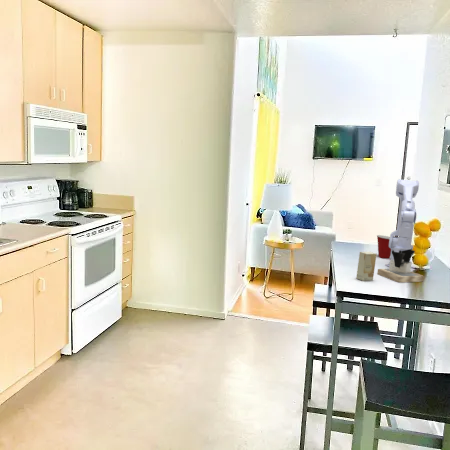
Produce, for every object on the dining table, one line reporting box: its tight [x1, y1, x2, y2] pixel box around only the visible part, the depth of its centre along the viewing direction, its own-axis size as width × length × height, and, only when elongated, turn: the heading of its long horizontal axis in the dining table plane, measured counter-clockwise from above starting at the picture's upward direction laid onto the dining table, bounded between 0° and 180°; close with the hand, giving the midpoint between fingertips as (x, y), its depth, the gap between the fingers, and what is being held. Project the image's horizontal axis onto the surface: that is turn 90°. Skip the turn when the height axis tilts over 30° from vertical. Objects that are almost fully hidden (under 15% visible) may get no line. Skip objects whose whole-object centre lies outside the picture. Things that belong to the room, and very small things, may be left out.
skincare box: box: [355, 251, 377, 282], centre depth 197 cm, size 6×4×12 cm
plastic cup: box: [376, 234, 391, 260], centre depth 248 cm, size 11×11×12 cm
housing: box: [388, 259, 412, 274], centre depth 206 cm, size 4×8×6 cm, turn 43°
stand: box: [376, 268, 425, 284], centre depth 206 cm, size 14×14×3 cm
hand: (401, 266), depth 205 cm, fingers open, 7 cm apart
